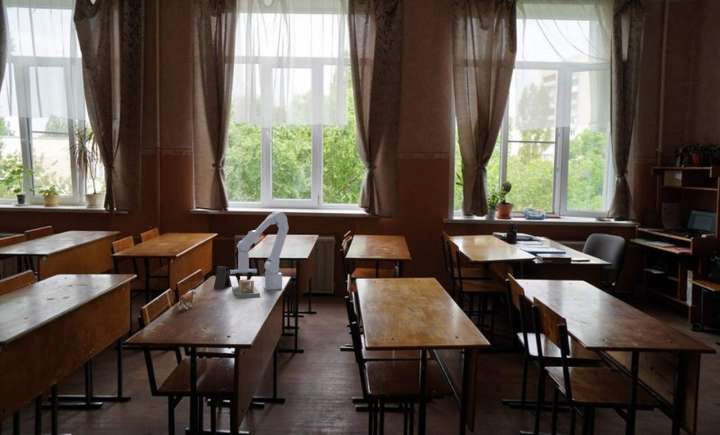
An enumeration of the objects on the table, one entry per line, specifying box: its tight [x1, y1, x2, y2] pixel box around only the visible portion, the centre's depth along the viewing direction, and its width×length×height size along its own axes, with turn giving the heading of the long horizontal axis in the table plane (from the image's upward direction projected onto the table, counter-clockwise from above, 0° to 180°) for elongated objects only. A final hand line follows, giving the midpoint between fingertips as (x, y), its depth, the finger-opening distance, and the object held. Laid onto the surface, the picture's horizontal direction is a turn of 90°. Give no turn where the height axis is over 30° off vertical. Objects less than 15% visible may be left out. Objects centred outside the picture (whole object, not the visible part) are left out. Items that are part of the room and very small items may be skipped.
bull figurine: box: [178, 289, 198, 311], centre depth 284 cm, size 4×13×8 cm, turn 164°
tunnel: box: [239, 279, 255, 291], centre depth 315 cm, size 8×3×5 cm, turn 110°
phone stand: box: [213, 265, 233, 290], centre depth 331 cm, size 9×6×12 cm, turn 156°
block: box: [242, 278, 251, 291], centre depth 320 cm, size 4×10×4 cm, turn 20°
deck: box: [231, 285, 261, 299], centre depth 317 cm, size 12×20×2 cm, turn 20°
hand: (243, 286), depth 324 cm, fingers closed on block, 4 cm apart
